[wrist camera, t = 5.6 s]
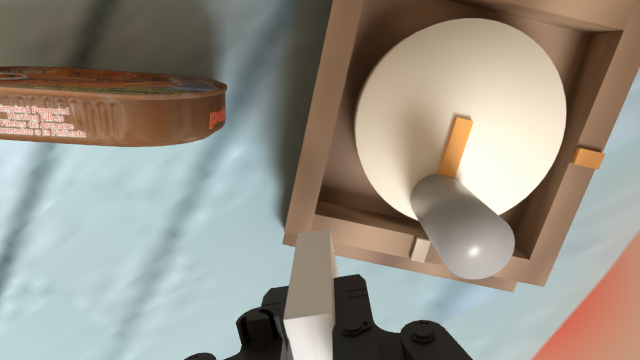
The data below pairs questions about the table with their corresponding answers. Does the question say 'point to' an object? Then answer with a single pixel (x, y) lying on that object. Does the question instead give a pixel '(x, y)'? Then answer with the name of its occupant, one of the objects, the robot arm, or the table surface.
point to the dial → (461, 134)
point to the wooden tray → (524, 218)
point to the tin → (107, 107)
